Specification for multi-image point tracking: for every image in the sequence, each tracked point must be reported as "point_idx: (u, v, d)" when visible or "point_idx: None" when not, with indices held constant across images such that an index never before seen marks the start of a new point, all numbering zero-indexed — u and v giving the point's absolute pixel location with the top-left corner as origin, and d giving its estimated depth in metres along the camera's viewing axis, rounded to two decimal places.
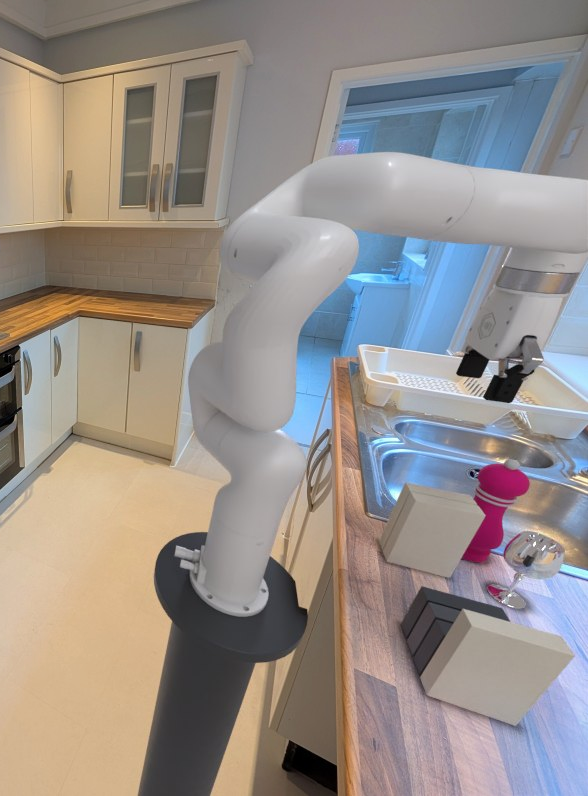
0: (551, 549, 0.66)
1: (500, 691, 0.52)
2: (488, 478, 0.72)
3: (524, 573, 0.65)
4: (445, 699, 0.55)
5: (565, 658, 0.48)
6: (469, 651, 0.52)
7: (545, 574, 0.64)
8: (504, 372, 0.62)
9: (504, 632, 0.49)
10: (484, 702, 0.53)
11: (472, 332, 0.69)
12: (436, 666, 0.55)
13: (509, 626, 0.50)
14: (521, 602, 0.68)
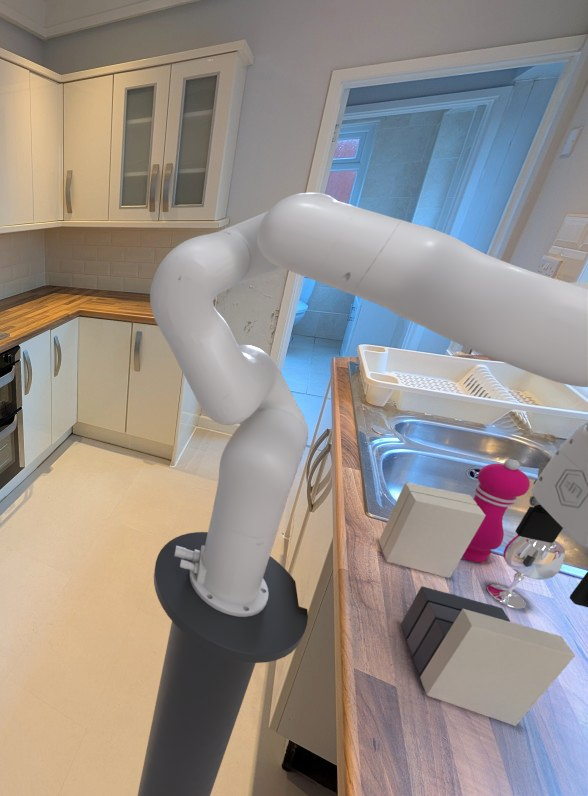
0: (551, 549, 0.66)
1: (500, 691, 0.52)
2: (488, 478, 0.72)
3: (524, 573, 0.65)
4: (445, 699, 0.55)
5: (565, 658, 0.48)
6: (469, 651, 0.52)
7: (545, 574, 0.64)
8: None
9: (504, 632, 0.49)
10: (484, 702, 0.53)
11: (544, 486, 0.46)
12: (436, 666, 0.55)
13: (509, 626, 0.50)
14: (521, 602, 0.68)
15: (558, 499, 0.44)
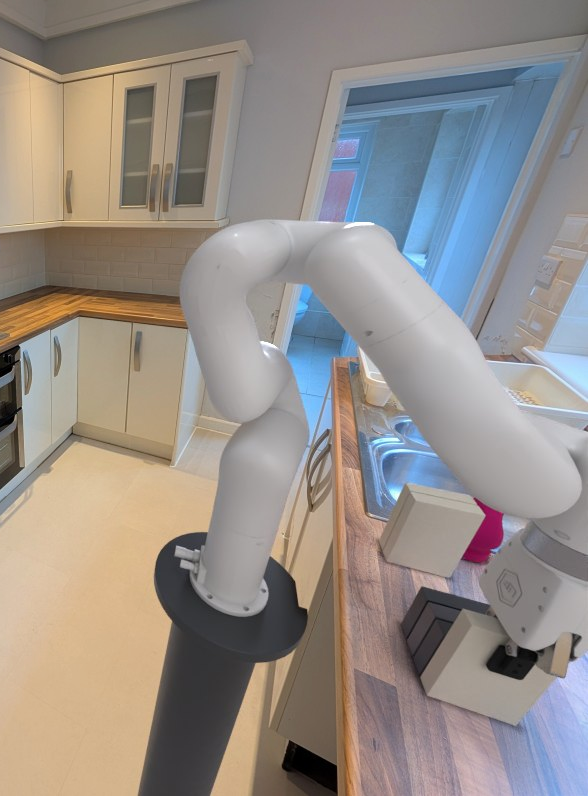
0: None
1: (500, 691, 0.52)
2: None
3: None
4: (445, 699, 0.55)
5: None
6: (469, 651, 0.52)
7: None
8: (512, 654, 0.48)
9: (504, 632, 0.49)
10: (484, 702, 0.53)
11: (488, 579, 0.52)
12: (436, 666, 0.55)
13: None
14: None
15: (498, 594, 0.50)
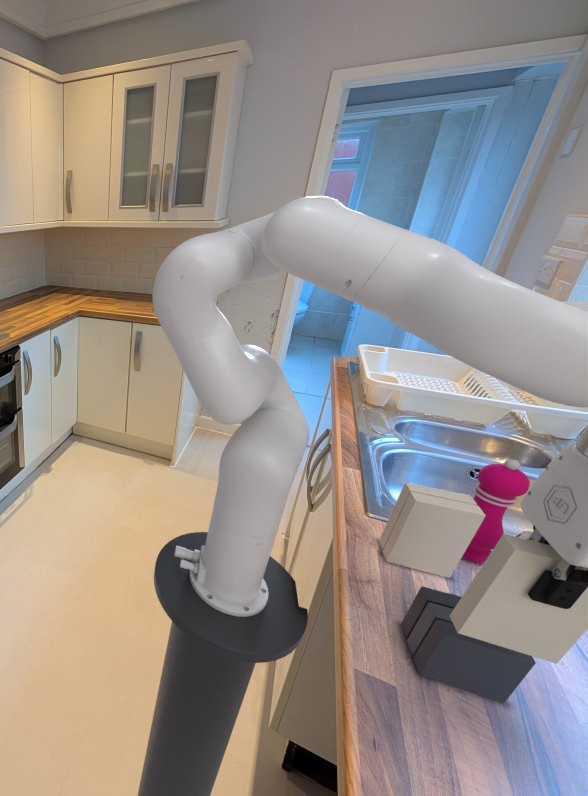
0: None
1: (542, 624, 0.47)
2: (488, 478, 0.72)
3: None
4: (478, 636, 0.51)
5: None
6: (510, 579, 0.47)
7: None
8: (561, 577, 0.43)
9: (551, 556, 0.45)
10: (522, 638, 0.49)
11: (533, 500, 0.47)
12: (470, 600, 0.51)
13: None
14: None
15: (545, 514, 0.45)
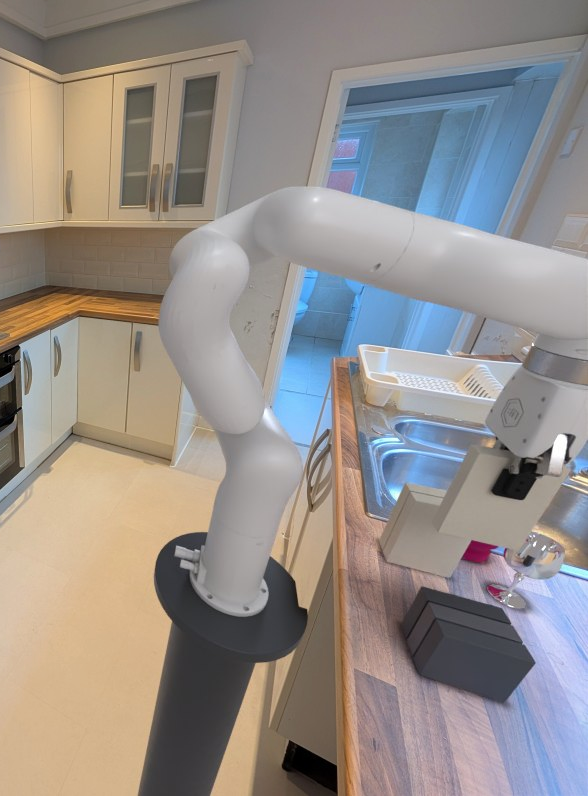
0: (551, 549, 0.66)
1: (504, 516, 0.58)
2: None
3: (524, 573, 0.65)
4: (455, 533, 0.62)
5: (562, 473, 0.54)
6: (477, 480, 0.58)
7: (545, 574, 0.64)
8: (515, 471, 0.54)
9: (508, 457, 0.56)
10: (490, 531, 0.60)
11: (494, 415, 0.58)
12: (447, 503, 0.62)
13: (513, 453, 0.57)
14: (521, 602, 0.68)
15: (502, 423, 0.56)
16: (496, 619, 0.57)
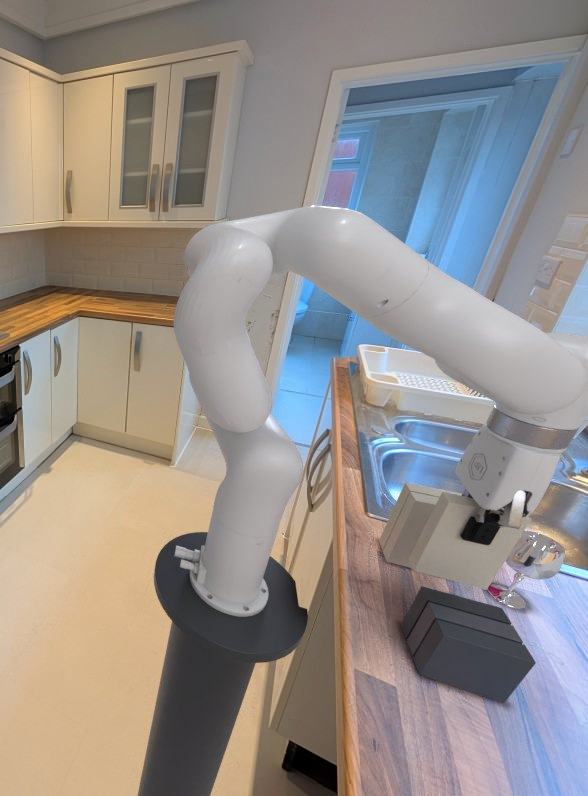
0: (551, 549, 0.66)
1: (473, 559, 0.63)
2: None
3: (524, 573, 0.65)
4: (429, 572, 0.67)
5: (523, 522, 0.59)
6: (447, 525, 0.63)
7: (545, 574, 0.64)
8: (480, 520, 0.59)
9: (475, 506, 0.61)
10: (460, 571, 0.65)
11: (462, 466, 0.63)
12: (421, 545, 0.66)
13: None
14: (521, 602, 0.68)
15: (469, 475, 0.61)
16: (496, 619, 0.57)
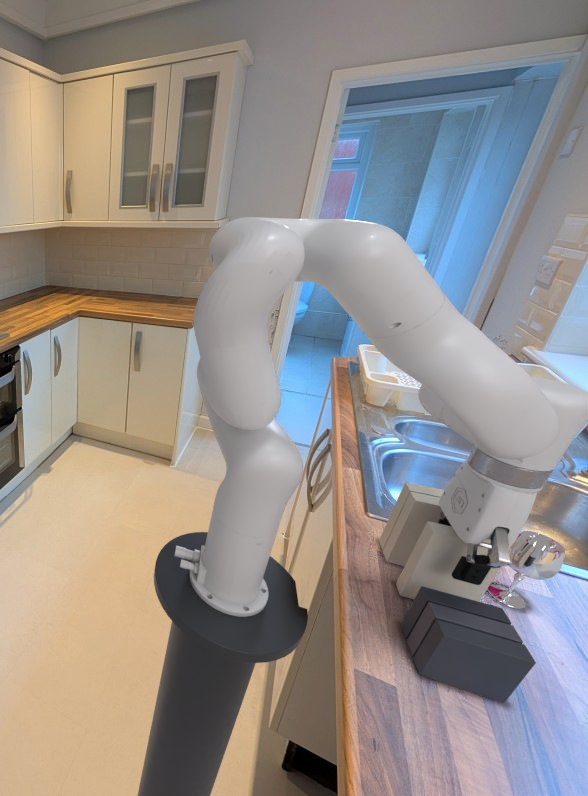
0: (551, 549, 0.66)
1: (457, 586, 0.66)
2: None
3: (524, 573, 0.65)
4: None
5: None
6: (432, 554, 0.65)
7: (545, 574, 0.64)
8: (471, 559, 0.59)
9: (458, 536, 0.63)
10: None
11: (446, 498, 0.65)
12: (408, 571, 0.69)
13: None
14: (521, 602, 0.68)
15: (452, 508, 0.63)
16: (496, 619, 0.57)
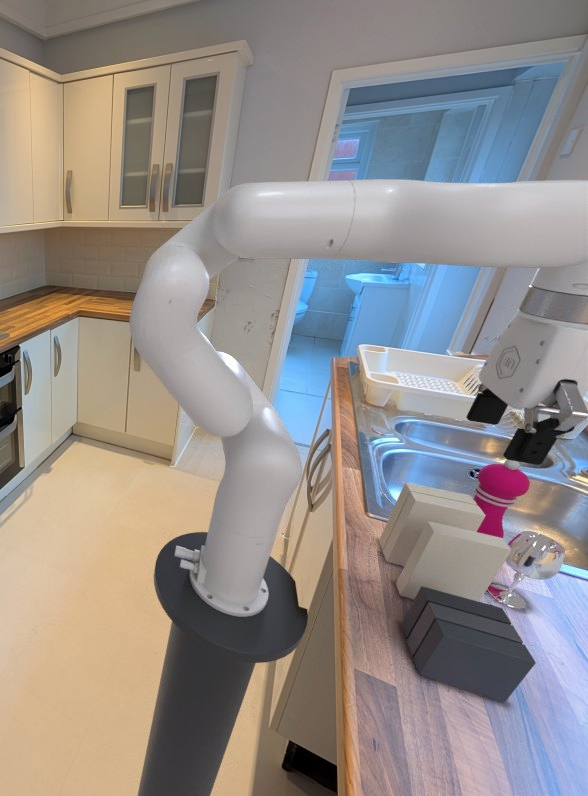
0: (551, 549, 0.66)
1: (457, 586, 0.66)
2: (488, 478, 0.72)
3: (524, 573, 0.65)
4: None
5: (504, 553, 0.61)
6: (432, 553, 0.65)
7: (545, 574, 0.64)
8: (532, 426, 0.47)
9: (458, 536, 0.63)
10: None
11: (488, 368, 0.54)
12: (408, 571, 0.69)
13: (463, 532, 0.64)
14: (521, 602, 0.68)
15: (497, 375, 0.52)
16: (496, 619, 0.57)
